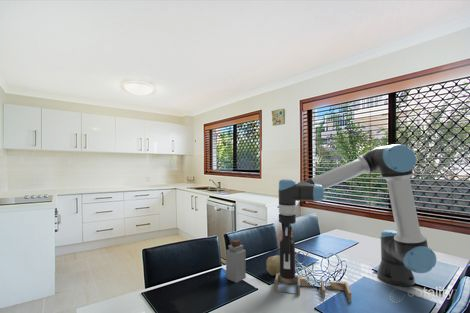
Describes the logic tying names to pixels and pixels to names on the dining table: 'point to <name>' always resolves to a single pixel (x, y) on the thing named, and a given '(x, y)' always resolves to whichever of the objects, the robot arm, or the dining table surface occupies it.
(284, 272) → the vinegar
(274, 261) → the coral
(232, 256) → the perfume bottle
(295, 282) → the comb rack
